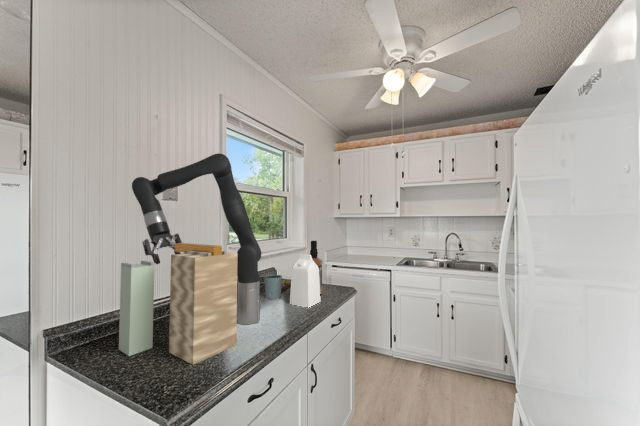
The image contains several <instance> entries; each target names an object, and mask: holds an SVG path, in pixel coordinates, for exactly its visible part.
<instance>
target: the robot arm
mask: <svg viewBox="0 0 640 426" xmlns="http://www.w3.org/2000/svg"><path fill="white" fill-rule="evenodd" d="M211 174H212V176H213V177H214V179H215V181H216V182H215V183H216V184H217V186H218V190H219V194H220V200H221V202H220V203H221V205H222V209H223V212H224V215H225V218H226V219H225V220H227V221H226V222H228V225H229V226H230V227H231V229H232V231H233V232H234V233H235V235H236V237H237V239H238V242H239V246H240V247H239V248H238V249H237V252H236V253H238V258H237V324H240V325H253V324H257V323H258V324H259V322H260V319H261V296H260V290H261V289H260V282H261V280H260V278H261V276H260V273H259V263H258V262H259V261H260V260H261V258H262V250H261V247H260V245H259V243H258V241H257V238H256V236H255V234H254V232H253V229H252V224H251V222H250V218H249V214H248V211H247V208H246V206H245V203H244V200H243V197H242V196H241V193H240V192H239V190H238V188H237V185H236V183H235V180H234V175H233V171H232V164H231V161H230V160H229V158H228V157H227V155H225V154H223V153H215V154H211V155H210V156H207V157H205V158H203V159H201V160H199V161H197V162H193V163H191V164H188V165H186V166H183V167H179V168H177V169H176V168H175V169H173V170H172V169H171V170H169V171H165V172H162V173H160V174H158V175H157V178H154V179H152V180H150V179H148V178H147V177H143V176H138V177H136V178H134V180H132V183H131V189H132V192H133V194H134V197H135V198H136V200H137V202H138V204H139V206H140V209H141V211H142V212H141V213H142V215H143V220H144V223H145V228H146V230H147V232H148V235H149V238H150V239H149V238H146V239H144V240H142V246H143V251H144V255H145V256H150V257H152V260H153V261H152V262H155V263H154V264H155V265H159V264H161V259H160V256H159V254H158V251H159V250H160V249H163V248H167V247H168V248H171V249H172V250H173V253H174V255H175V254H182V252H176V251H175V243H183V242H182V239H181V237H180V234H179V233H174V234H171V230H170V228H169V225H168V222H167V218H166V216H165V213H164V211H163V208H162V205H161V203H160V201H159V200H158V199H157V197H156V196H158V195H159V194H161V193H163V192H165V191H167V190H170V189H173V188H177V187H180V186H184V185H186V184H187V183H190V182H191V181H193V180H195V179H196V178H199V177H203V176H206V175H211ZM151 244H152V245H153V246H152V249H151Z"/></svg>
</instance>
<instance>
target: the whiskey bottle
mask: <svg viewBox="0 0 640 426" xmlns="http://www.w3.org/2000/svg"><path fill="white" fill-rule="evenodd" d="M318 254H319V253H318V241H317V240H311V241H310V250H309V255H311V257H312V260H313V261H314V262H315V263H316V265H317V266H318V268H319V278H320V294H321V293H322V291H323V292H324V286H323V264H324V263H323V262H324V261H323V260H322V259H321V258H319V257H318ZM322 294H323V293H322Z"/></svg>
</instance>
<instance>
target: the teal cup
mask: <svg viewBox="0 0 640 426" xmlns="http://www.w3.org/2000/svg"><path fill="white" fill-rule="evenodd" d="M282 278H283V276H282V275H281V274H270V275H265V276H263V281H264V291H265V298H267V300H278V299H277V298H279V299H280V297H282V293H281V288H282V281H283V280H282Z"/></svg>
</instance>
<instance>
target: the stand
mask: <svg viewBox="0 0 640 426" xmlns="http://www.w3.org/2000/svg"><path fill="white" fill-rule="evenodd" d="M237 258H238V253H237V252H232V251H231V252H229V251H227V250H226V251H225V250H222V255H216V256H212V255H211V253H207V252H197V251H184V252H183V253H181V254H175V253H174V254H171V255H170V288H169V291H170V293H169V327H168V328H169V331H168V332H169V334H168V335H169V337H168V338H169V339H168V340H169V341H168V353H169V354H172V356H175V357H177V358H179V359H181V360H182V361H185V362H186V363H188V364H190V365H196V364H198V363H200V362H203V361H205V360H207V359H209V358H211V357H214V356H215V355H218V354H220V353H222V352H225V351H226V350H229V349H231V348H233V347H235V346H237V342H238V341H237V331H238V330H237V329H238V327H237V326H238V325H237V324H238V322H237V320H238V318H237V316H238V277H237Z"/></svg>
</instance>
